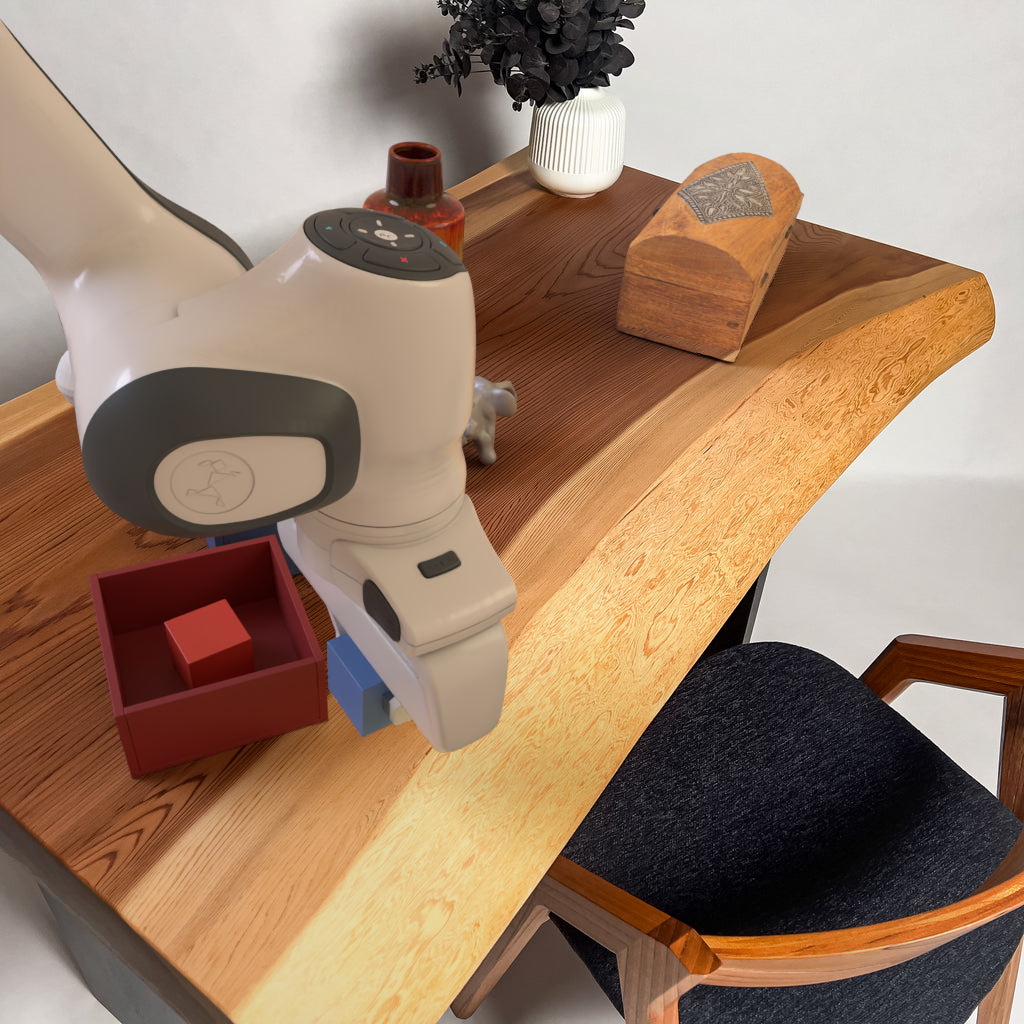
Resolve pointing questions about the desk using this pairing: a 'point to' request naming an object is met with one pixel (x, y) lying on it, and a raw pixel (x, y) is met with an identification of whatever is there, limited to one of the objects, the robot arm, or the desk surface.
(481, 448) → the grey animal figurine
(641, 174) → the desk surface
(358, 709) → the blue block
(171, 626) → the red block
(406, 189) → the vase
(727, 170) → the wooden box
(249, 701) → the red bin
